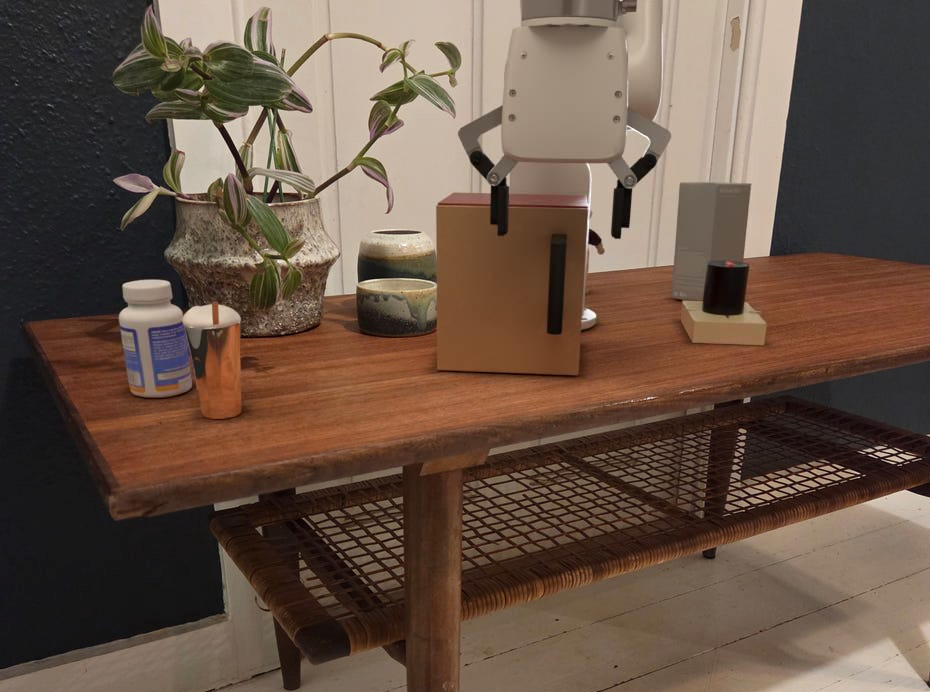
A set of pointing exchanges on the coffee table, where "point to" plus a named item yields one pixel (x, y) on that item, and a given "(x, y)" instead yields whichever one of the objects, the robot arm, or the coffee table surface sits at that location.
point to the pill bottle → (154, 340)
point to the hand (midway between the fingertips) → (558, 235)
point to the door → (510, 289)
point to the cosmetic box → (707, 232)
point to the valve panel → (723, 325)
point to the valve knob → (725, 287)
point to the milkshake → (215, 358)
